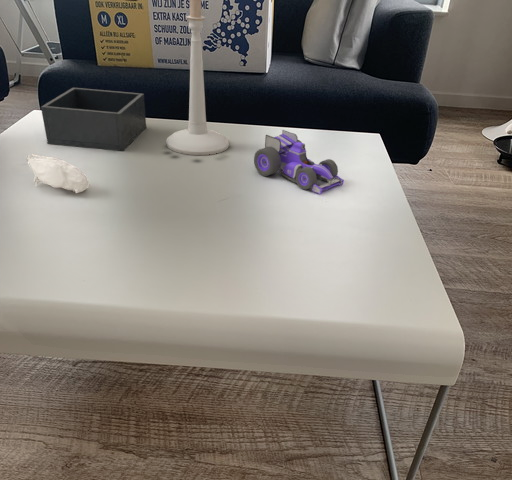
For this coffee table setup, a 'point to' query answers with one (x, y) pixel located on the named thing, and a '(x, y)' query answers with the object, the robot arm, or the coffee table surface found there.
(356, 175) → the coffee table surface
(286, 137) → the toy race car
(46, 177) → the white lumpy piece
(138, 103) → the dark grey open box
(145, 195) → the coffee table surface
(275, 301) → the coffee table surface
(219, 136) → the candlestick
